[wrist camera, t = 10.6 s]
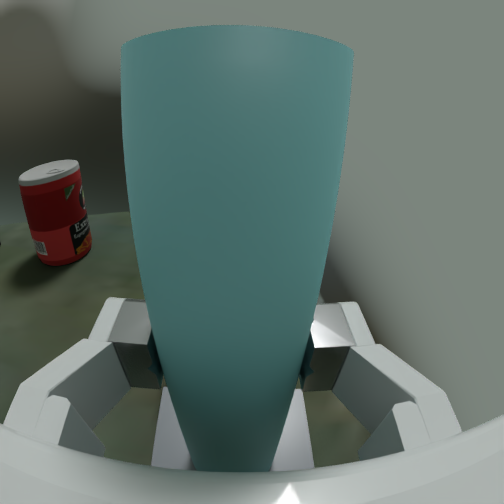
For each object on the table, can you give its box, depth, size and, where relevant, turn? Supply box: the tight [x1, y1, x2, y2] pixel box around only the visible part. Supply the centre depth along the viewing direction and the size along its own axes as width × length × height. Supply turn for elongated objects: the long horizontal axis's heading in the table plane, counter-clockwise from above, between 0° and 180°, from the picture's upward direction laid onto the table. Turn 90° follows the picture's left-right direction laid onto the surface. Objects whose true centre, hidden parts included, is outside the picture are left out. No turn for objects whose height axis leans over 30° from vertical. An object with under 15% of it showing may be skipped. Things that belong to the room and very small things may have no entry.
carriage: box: [121, 25, 354, 472], centre depth 8 cm, size 7×7×17 cm
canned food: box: [19, 160, 92, 266], centre depth 32 cm, size 8×8×11 cm
